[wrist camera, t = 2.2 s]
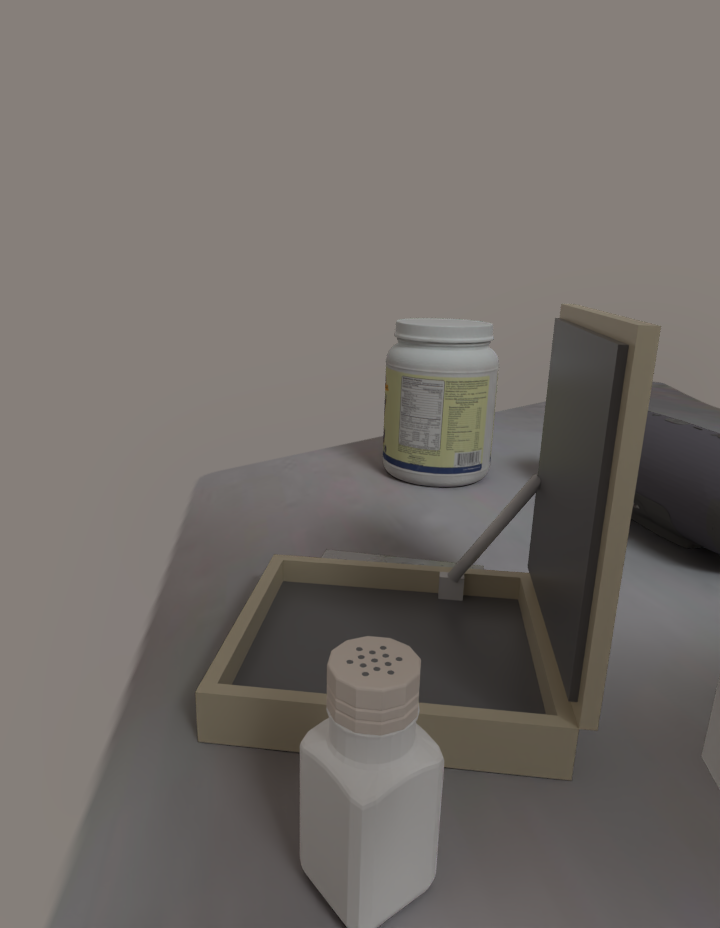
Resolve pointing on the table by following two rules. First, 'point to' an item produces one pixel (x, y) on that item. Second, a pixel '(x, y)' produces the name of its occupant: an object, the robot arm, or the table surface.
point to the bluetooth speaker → (679, 483)
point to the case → (472, 592)
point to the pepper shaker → (370, 785)
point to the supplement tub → (440, 401)
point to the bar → (388, 559)
